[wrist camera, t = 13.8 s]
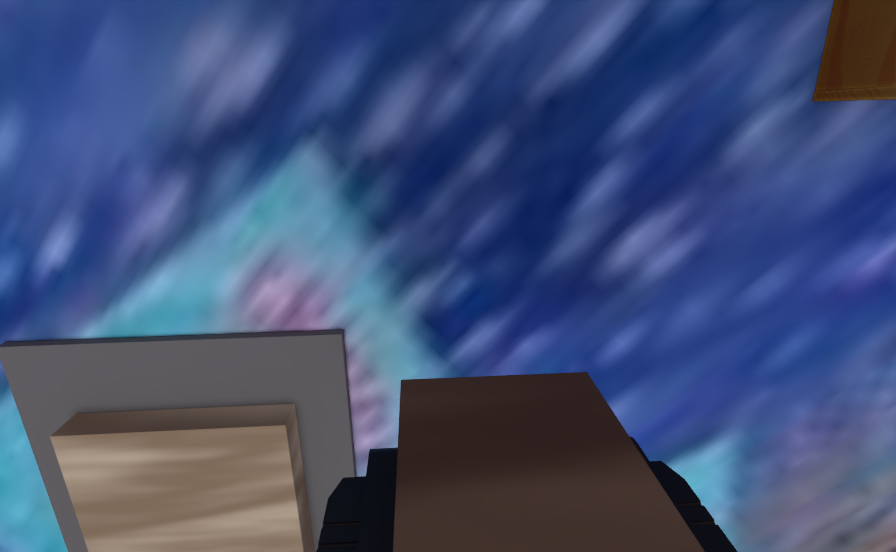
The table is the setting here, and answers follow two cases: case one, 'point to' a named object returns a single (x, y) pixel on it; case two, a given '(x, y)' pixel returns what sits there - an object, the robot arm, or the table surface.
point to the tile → (187, 479)
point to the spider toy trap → (859, 52)
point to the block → (524, 471)
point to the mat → (187, 395)
